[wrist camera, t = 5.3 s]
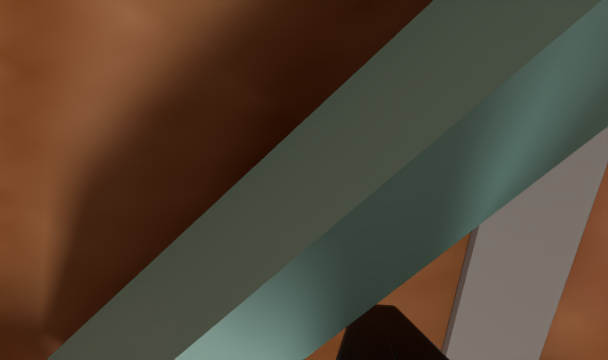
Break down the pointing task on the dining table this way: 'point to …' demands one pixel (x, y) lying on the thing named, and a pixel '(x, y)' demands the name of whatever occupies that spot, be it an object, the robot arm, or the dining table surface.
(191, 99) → the dining table surface
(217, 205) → the long teal plank
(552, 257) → the door frame
